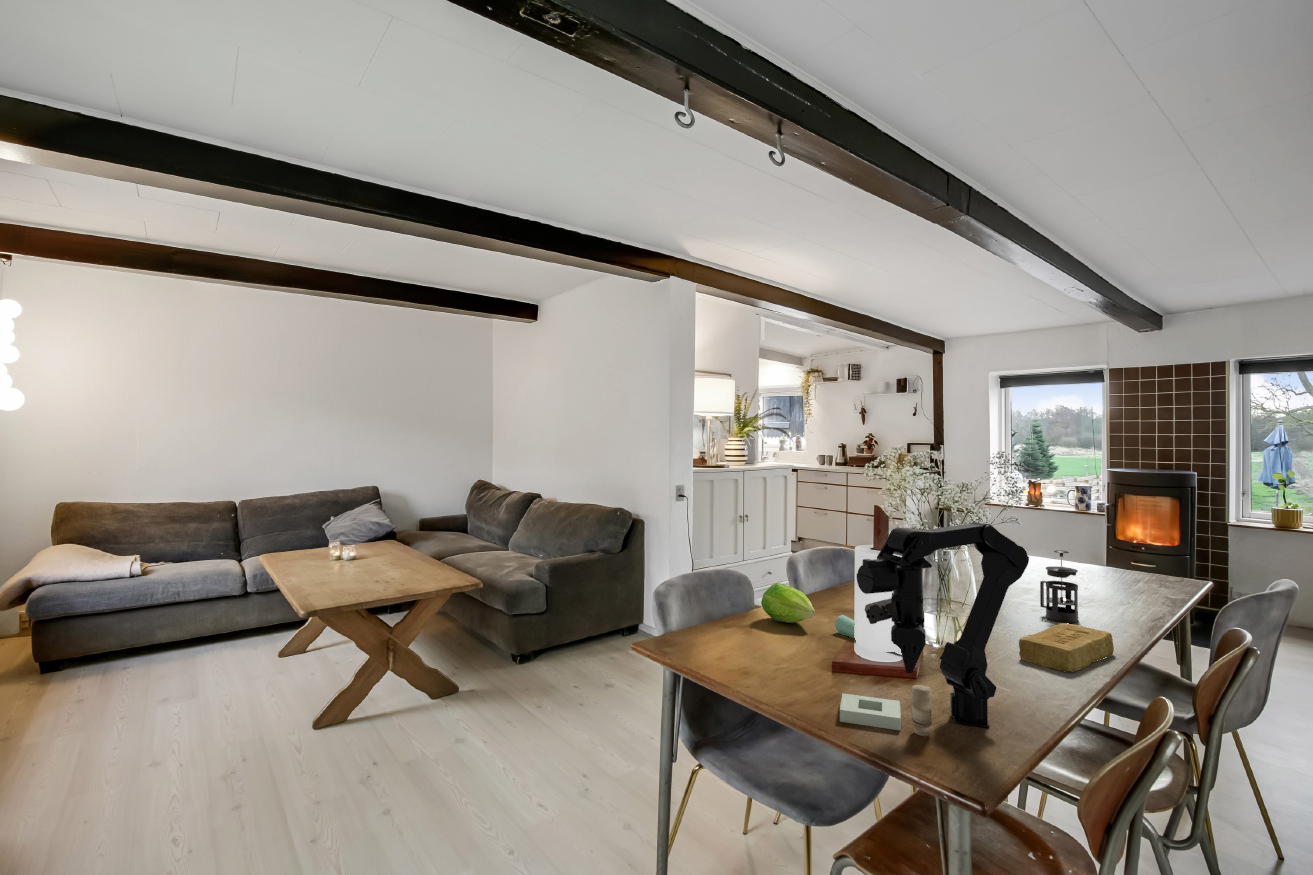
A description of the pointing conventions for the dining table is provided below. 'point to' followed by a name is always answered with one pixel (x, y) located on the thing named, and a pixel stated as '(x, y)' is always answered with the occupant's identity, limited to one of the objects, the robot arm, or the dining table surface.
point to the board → (870, 711)
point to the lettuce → (786, 604)
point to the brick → (1066, 647)
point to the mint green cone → (845, 626)
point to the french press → (1055, 611)
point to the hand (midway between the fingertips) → (909, 665)
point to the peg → (921, 709)
